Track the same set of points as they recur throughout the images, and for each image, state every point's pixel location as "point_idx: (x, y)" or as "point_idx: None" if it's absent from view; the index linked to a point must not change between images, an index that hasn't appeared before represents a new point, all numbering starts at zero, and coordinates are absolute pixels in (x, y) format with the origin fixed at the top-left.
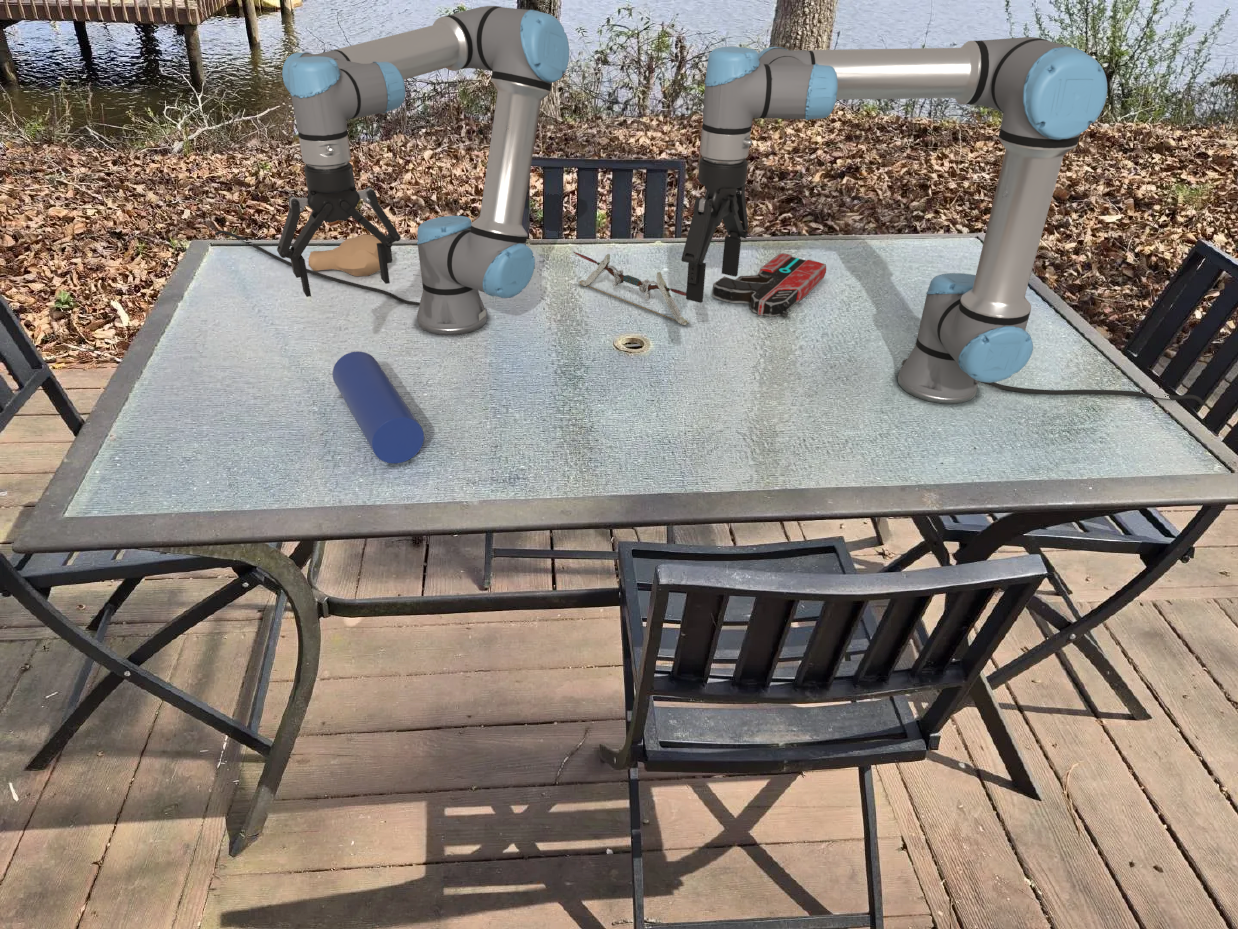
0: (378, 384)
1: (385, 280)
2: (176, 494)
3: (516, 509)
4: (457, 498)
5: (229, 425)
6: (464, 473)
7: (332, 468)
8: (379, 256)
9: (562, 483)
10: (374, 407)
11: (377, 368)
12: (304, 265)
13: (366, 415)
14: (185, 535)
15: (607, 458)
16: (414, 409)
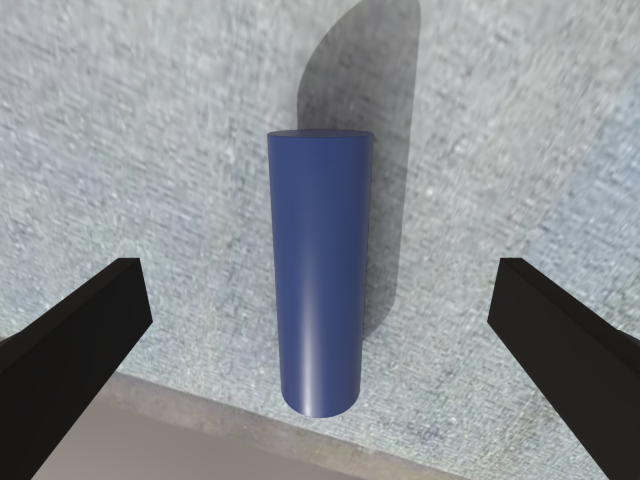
0: (329, 309)
1: (496, 331)
2: (23, 309)
3: (404, 473)
4: (356, 439)
5: (74, 146)
6: (384, 405)
7: (230, 334)
8: (581, 363)
9: (473, 458)
10: (300, 368)
11: (352, 224)
12: (39, 458)
13: (285, 360)
14: None
15: (550, 441)
16: (390, 233)
